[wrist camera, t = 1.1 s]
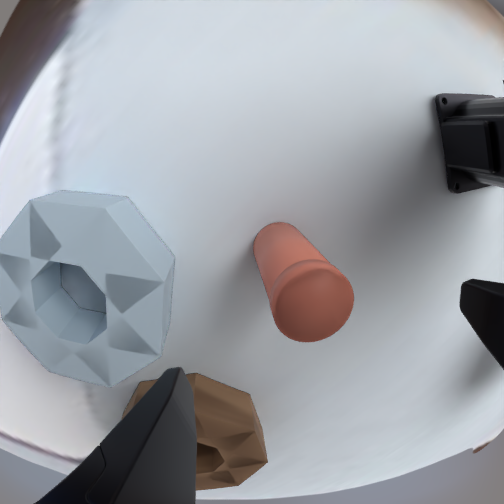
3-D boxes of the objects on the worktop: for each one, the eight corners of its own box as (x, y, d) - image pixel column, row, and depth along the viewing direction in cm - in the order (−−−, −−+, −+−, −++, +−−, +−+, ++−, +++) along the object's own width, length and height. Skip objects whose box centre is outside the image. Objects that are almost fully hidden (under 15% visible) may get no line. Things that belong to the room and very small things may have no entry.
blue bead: (97, 155, 14) (68, 157, 11) (207, 296, 17) (205, 328, 14) (4, 260, 15) (-27, 280, 12) (98, 370, 18) (83, 403, 15)
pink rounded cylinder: (299, 215, 17) (349, 257, 10) (308, 264, 17) (356, 328, 11) (246, 228, 16) (264, 280, 10) (258, 277, 17) (281, 351, 11)
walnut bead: (239, 363, 19) (243, 401, 16) (269, 446, 22) (275, 478, 19) (105, 386, 19) (92, 419, 16) (160, 461, 22) (156, 492, 19)
